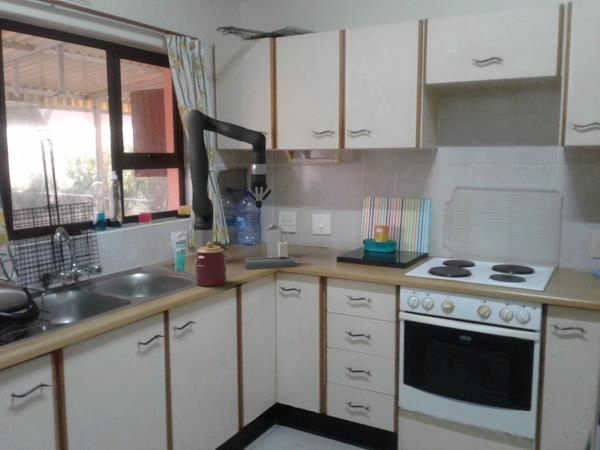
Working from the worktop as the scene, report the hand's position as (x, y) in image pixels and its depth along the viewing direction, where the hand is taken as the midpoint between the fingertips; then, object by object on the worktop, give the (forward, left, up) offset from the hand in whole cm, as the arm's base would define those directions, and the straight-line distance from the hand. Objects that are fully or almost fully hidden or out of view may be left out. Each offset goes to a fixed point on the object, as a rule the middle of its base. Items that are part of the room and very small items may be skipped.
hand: (258, 208), depth 259 cm
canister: (-25, -39, -28) cm, 54 cm away
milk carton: (+10, +13, -28) cm, 32 cm away
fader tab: (+11, -8, -25) cm, 28 cm away
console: (+4, -8, -28) cm, 29 cm away
